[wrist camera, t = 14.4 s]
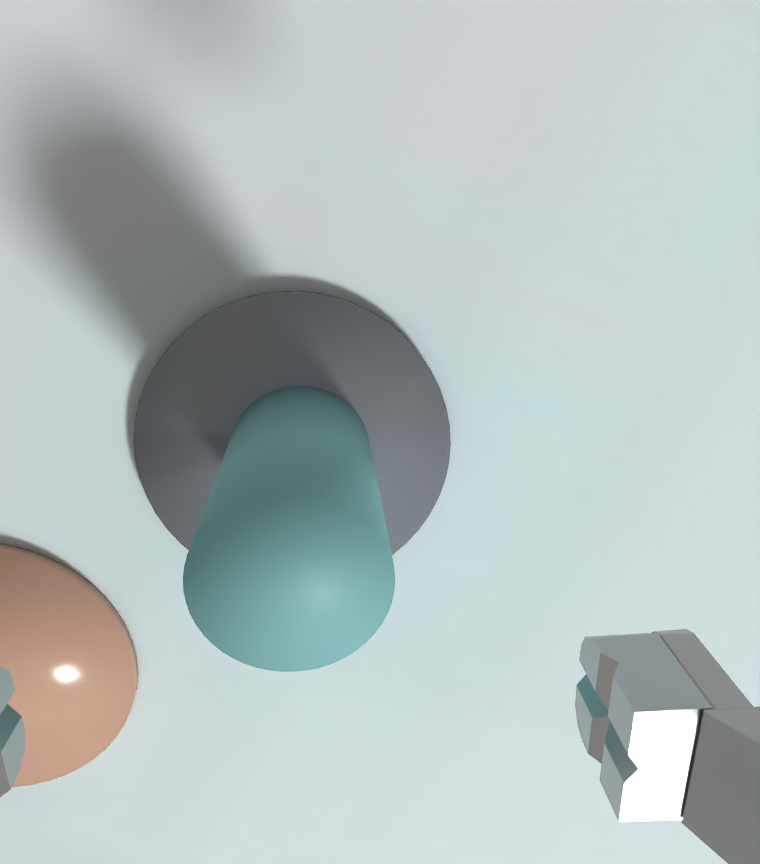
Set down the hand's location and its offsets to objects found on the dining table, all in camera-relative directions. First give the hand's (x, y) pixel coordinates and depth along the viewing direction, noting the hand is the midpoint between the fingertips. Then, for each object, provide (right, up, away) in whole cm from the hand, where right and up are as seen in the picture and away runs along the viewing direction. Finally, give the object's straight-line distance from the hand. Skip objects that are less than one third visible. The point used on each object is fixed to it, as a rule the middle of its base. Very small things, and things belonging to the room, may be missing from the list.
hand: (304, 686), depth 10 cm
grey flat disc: (-1, +3, +10) cm, 11 cm away
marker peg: (-1, +3, +10) cm, 10 cm away
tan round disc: (-11, -4, +12) cm, 17 cm away
